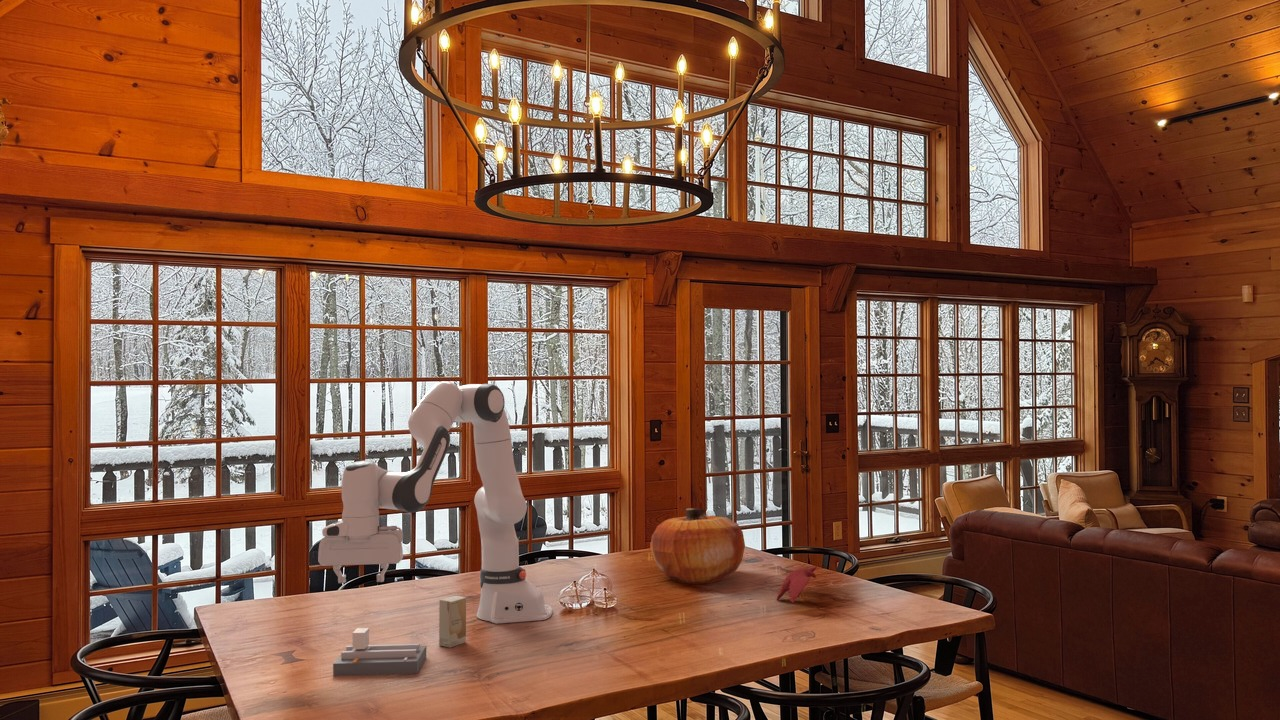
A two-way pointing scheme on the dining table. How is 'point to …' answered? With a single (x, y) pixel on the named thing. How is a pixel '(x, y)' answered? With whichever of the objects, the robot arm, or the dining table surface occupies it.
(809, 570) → the decorative bird sculpture
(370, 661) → the fader console
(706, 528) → the pumpkin
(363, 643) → the fader knob
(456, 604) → the skincare box
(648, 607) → the dining table surface
